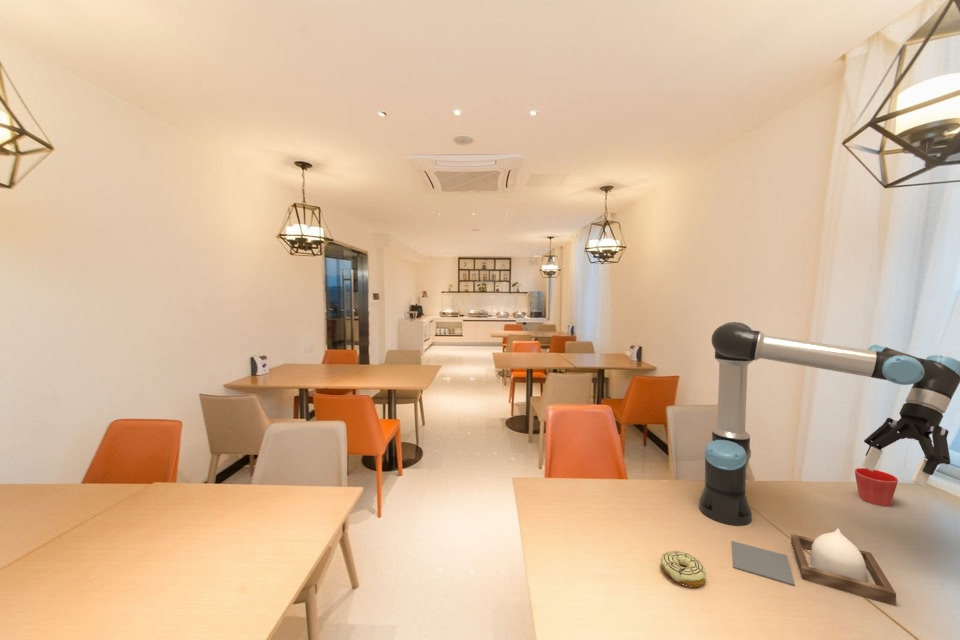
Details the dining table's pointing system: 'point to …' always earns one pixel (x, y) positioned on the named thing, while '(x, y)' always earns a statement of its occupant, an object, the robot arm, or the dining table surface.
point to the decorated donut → (683, 568)
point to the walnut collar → (861, 588)
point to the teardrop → (838, 556)
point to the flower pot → (875, 486)
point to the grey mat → (762, 562)
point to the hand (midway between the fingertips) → (890, 475)
